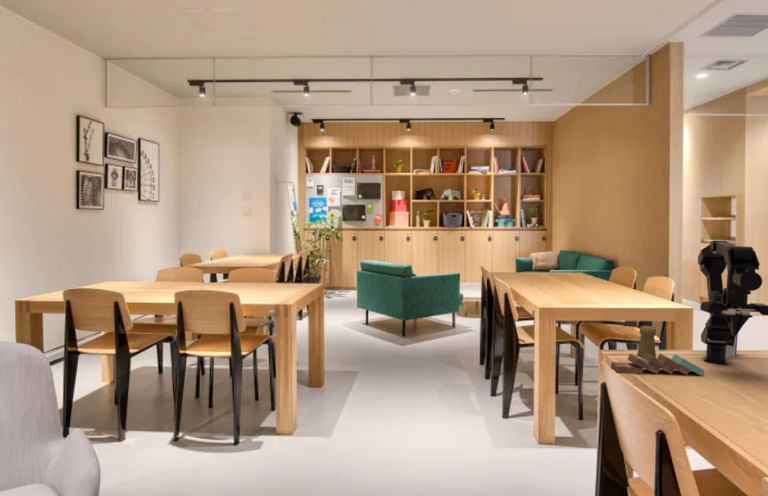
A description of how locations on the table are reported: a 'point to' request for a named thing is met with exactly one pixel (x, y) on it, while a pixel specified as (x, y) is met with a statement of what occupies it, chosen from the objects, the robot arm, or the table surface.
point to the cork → (647, 341)
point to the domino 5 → (688, 364)
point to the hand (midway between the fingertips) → (734, 335)
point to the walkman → (732, 349)
